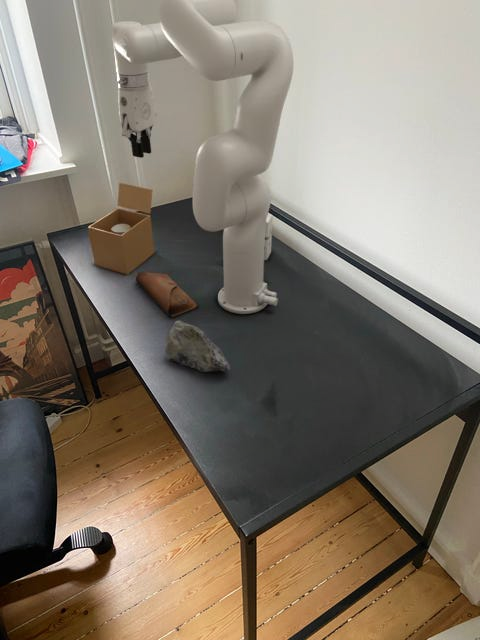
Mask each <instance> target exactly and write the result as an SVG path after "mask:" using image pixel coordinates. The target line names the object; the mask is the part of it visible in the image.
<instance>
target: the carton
mask: <svg viewBox="0 0 480 640" xmlns="http://www.w3.org/2000/svg"><path fill="white" fill-rule="evenodd" d="M118 224H127V225H129V226H130V227H131V229H129V230H128V231H126V232H125V233H123V234H122V235H119V234H115V233H112V230H111V229H112V227H113V226H115V225H118ZM87 232H88V236H89V241H90V246H91V251H92V256H93V261H94V265H95V266H97V267H100V268H104V269H108V270H110V271H114V272H117V273H120V274H121V273H122V274H124V275H129V274H130V273H131V272H133V271H134V270H135V269H136V268H138V267H139V266H141V264H143V263H144V262H145V261H146V260H148V259H149V258H150V257H152V256H153V255H155V252H156V251H155V245H154V244H155V243H154V235H153V226H152V218H151V215H150V214H146V213H140V212H136V211H134V210H129V209H125V208H120V207H117V208H116V209H114V210H112V211H110V212H109V213H107V214H106V215H104V216H103V217H101V218H100V219H98V220H97V221H94V223H92V224H90V225H89V226H87Z"/></svg>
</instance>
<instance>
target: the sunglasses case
mask: <svg viewBox="0 0 480 640" xmlns="http://www.w3.org/2000/svg"><path fill="white" fill-rule="evenodd" d="M135 281H136V283H137V284H138V285H139V286H140V287H141V288H142V289H143V290H144V291H145V292H146V293H147V294H148V295H149V296H150V297H151V299H153V300H154V301H155V303H157V305H158V306H159V307H160V308H161V309H162V311H164V312H165V313H166V314H167V315H168V316H170V317H172V318H173V317H177V316H180V315H183V314H186V313H187V312H190V311H192V310H194V309H196V308H197V306H198V305H197V303H196V302H195V301H194V300H193V299H192V298H191V297H190V296H189V295H188V294H187V293H186V291H184V290H183V289H182V287H180V286H179V285H178V284H177V282H175V281H174V280H173V278H172V277H170V275H168V273H155V272H154V273H152V272H146V271H138V272H137V274H136V276H135Z"/></svg>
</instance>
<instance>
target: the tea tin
mask: <svg viewBox="0 0 480 640" xmlns="http://www.w3.org/2000/svg"><path fill="white" fill-rule="evenodd" d="M129 229H131V227H130V226H129V225H127V224H118V225H115V226H113V227H112V229H111V230H112V233H115V234H119V235H122V234H123V233H125V232H126V231H128V230H129Z"/></svg>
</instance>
